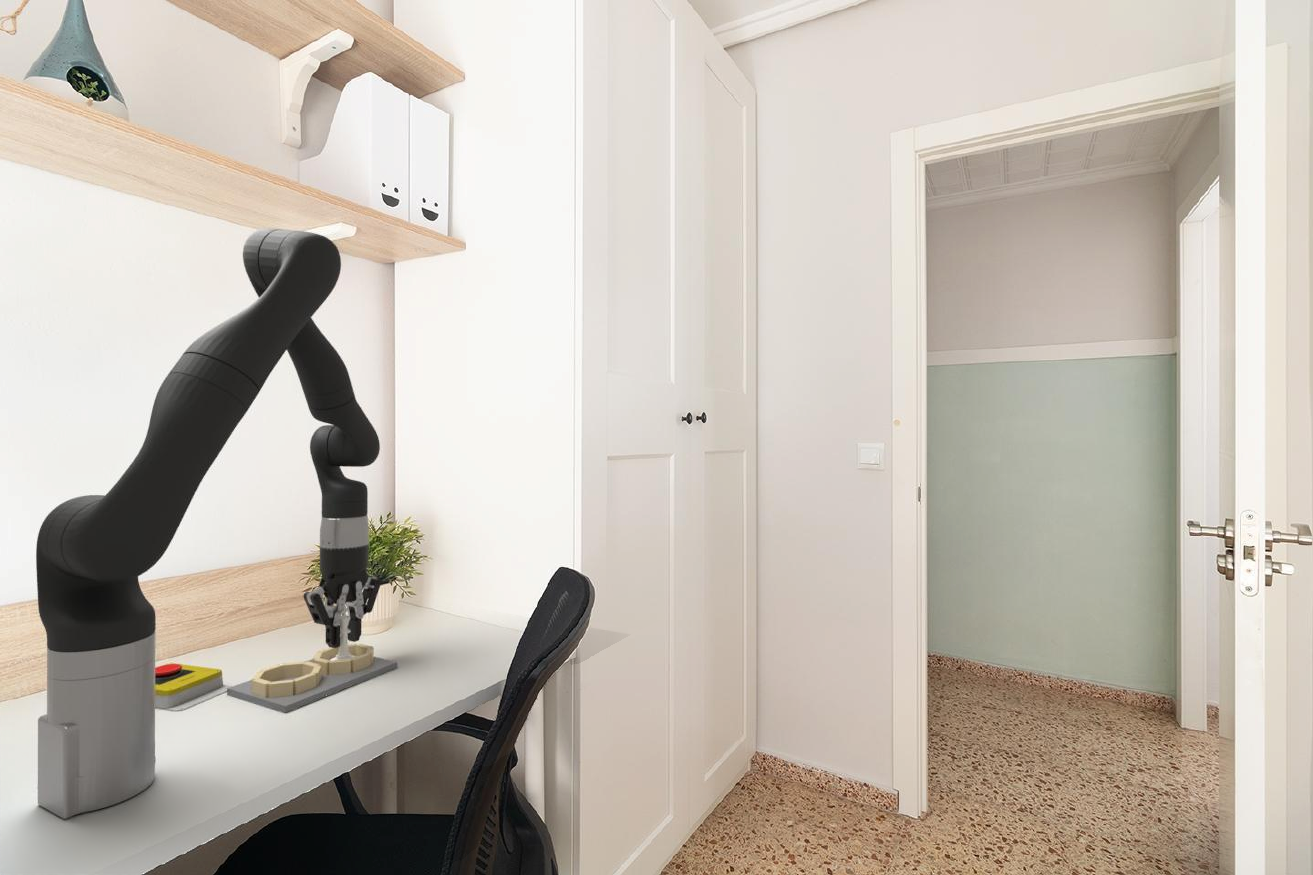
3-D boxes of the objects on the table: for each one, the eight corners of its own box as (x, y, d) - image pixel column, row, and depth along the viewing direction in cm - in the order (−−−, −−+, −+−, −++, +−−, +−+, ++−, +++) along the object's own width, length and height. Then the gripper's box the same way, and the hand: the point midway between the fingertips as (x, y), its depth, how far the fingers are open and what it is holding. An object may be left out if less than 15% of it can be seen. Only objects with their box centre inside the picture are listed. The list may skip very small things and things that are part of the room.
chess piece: (365, 660, 110) (366, 603, 110) (346, 670, 106) (346, 610, 106) (340, 658, 111) (341, 601, 111) (320, 668, 107) (320, 608, 107)
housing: (285, 713, 92) (285, 692, 92) (227, 694, 98) (227, 675, 98) (397, 667, 110) (397, 650, 110) (341, 654, 116) (341, 638, 116)
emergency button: (164, 653, 105) (237, 663, 101) (164, 680, 105) (236, 690, 101) (102, 674, 96) (179, 685, 92) (102, 703, 96) (179, 715, 92)
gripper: (321, 551, 100) (320, 660, 101) (394, 538, 113) (393, 635, 113) (290, 547, 104) (290, 652, 104) (364, 535, 116) (363, 629, 117)
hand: (343, 643), depth 109 cm, fingers open, 3 cm apart
